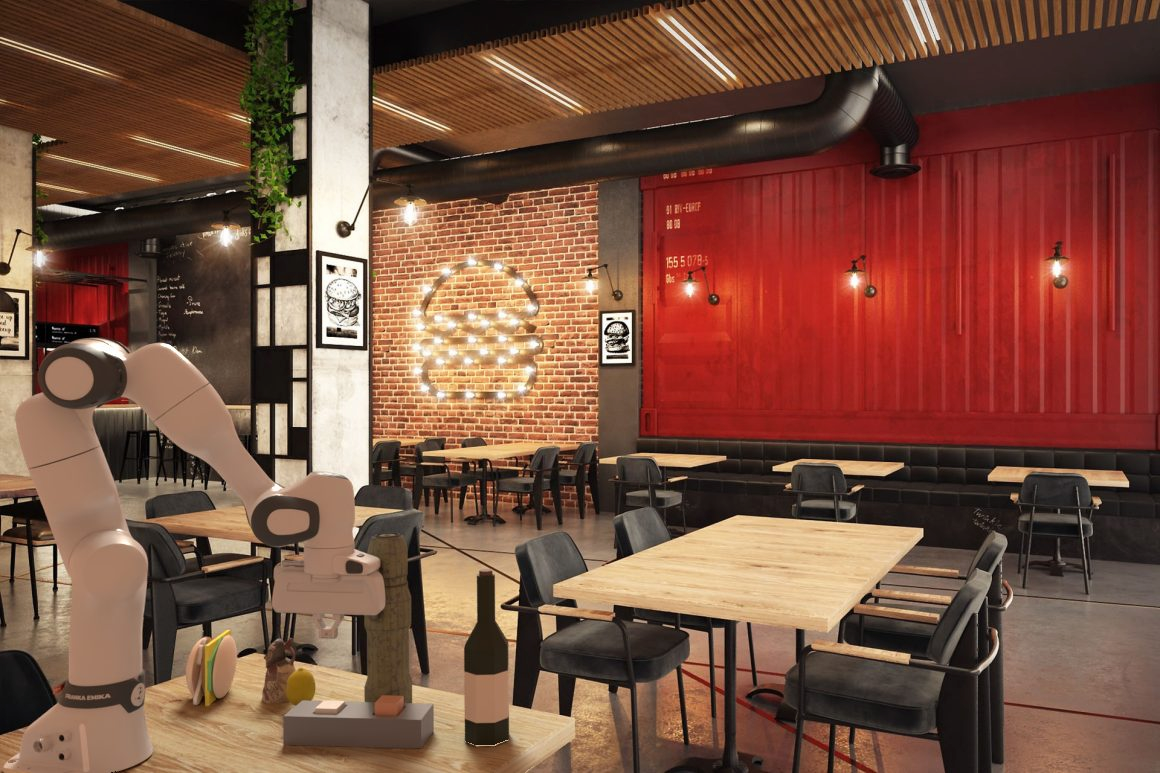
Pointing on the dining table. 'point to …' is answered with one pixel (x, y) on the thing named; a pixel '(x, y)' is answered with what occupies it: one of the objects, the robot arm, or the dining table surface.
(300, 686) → the lemon
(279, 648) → the figurine
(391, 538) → the thermos
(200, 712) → the dining table surface
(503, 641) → the wine bottle
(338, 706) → the pale key
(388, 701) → the clay key
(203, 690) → the hamburger
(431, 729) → the key panel
